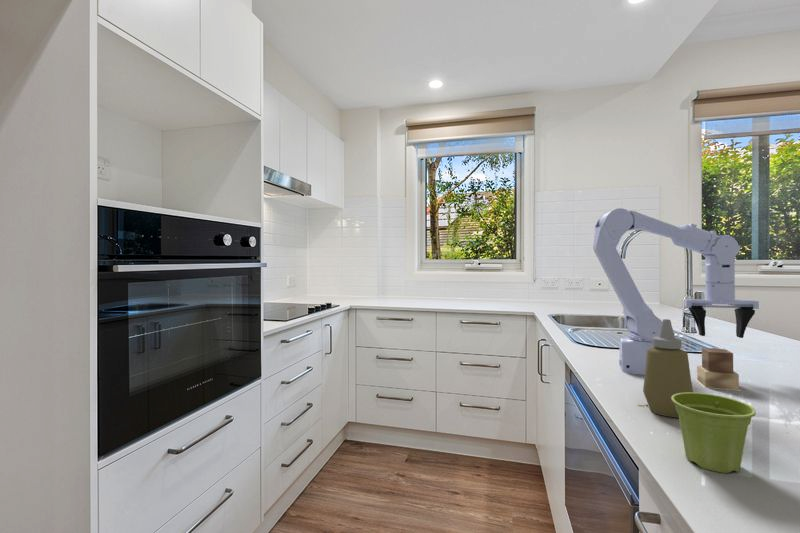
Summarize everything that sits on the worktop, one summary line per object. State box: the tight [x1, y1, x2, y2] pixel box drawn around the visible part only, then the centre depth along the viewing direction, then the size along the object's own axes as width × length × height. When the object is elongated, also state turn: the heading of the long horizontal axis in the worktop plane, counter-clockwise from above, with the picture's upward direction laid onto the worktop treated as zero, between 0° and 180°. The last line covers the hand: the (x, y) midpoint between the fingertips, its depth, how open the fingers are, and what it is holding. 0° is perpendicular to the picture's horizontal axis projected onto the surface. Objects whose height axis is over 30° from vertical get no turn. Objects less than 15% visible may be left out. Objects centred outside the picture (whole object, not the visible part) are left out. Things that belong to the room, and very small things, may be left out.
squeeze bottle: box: [642, 318, 694, 418], centre depth 74 cm, size 8×8×18 cm
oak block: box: [696, 365, 740, 391], centre depth 88 cm, size 6×6×4 cm
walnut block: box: [701, 347, 734, 373], centre depth 88 cm, size 4×4×4 cm
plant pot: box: [671, 392, 757, 474], centre depth 55 cm, size 9×9×9 cm
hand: (720, 336), depth 97 cm, fingers open, 7 cm apart
